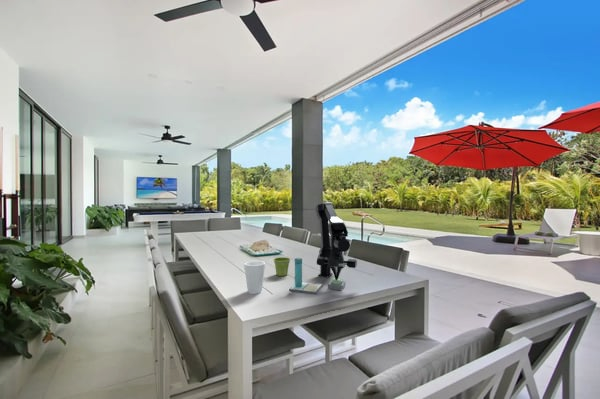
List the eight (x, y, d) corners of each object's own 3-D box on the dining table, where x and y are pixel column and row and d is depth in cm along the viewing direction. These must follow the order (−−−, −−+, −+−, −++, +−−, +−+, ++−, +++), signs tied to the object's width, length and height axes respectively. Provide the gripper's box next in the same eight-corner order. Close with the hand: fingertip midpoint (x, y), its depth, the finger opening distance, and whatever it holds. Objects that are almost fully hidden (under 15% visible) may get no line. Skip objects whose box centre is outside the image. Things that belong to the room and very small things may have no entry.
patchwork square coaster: (298, 283, 142) (298, 280, 142) (323, 285, 138) (323, 283, 138) (288, 291, 130) (288, 289, 130) (315, 294, 126) (315, 292, 126)
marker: (295, 284, 136) (295, 257, 136) (303, 285, 136) (302, 258, 135) (294, 287, 133) (293, 259, 133) (301, 287, 132) (301, 259, 132)
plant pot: (290, 277, 153) (289, 261, 152) (272, 277, 153) (272, 261, 153) (290, 272, 162) (290, 257, 162) (274, 272, 162) (274, 257, 162)
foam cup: (250, 296, 124) (249, 266, 124) (241, 290, 131) (240, 262, 131) (269, 292, 129) (268, 263, 129) (259, 286, 137) (259, 259, 137)
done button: (333, 283, 140) (333, 278, 140) (342, 284, 138) (342, 278, 138) (331, 286, 135) (331, 280, 135) (340, 287, 134) (340, 281, 134)
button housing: (331, 283, 141) (331, 279, 141) (345, 285, 139) (345, 281, 139) (327, 288, 135) (327, 284, 135) (342, 289, 132) (342, 285, 132)
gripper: (313, 249, 132) (313, 282, 132) (353, 252, 126) (353, 287, 126) (319, 245, 143) (319, 276, 143) (357, 247, 136) (357, 280, 137)
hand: (336, 279), depth 137 cm, fingers closed, pressing on done button
